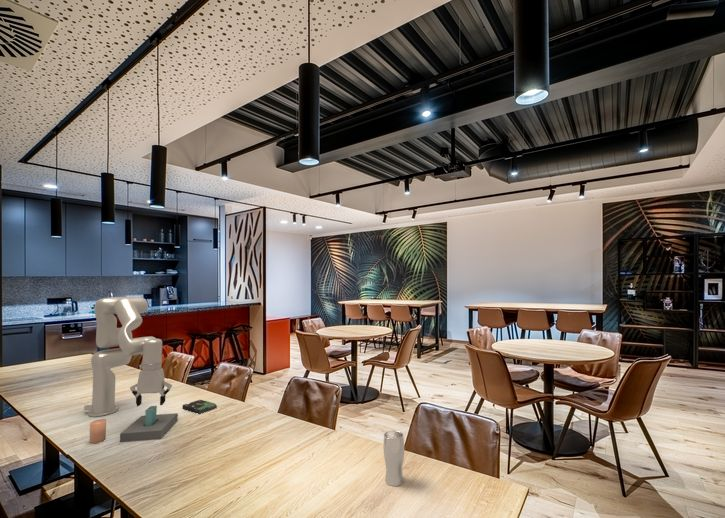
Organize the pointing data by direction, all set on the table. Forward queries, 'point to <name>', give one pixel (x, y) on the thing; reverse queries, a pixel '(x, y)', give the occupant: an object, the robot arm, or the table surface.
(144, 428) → the socket plate
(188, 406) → the disk drive
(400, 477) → the beer glass
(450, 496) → the table surface
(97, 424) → the round terracotta peg
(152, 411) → the teal bar
